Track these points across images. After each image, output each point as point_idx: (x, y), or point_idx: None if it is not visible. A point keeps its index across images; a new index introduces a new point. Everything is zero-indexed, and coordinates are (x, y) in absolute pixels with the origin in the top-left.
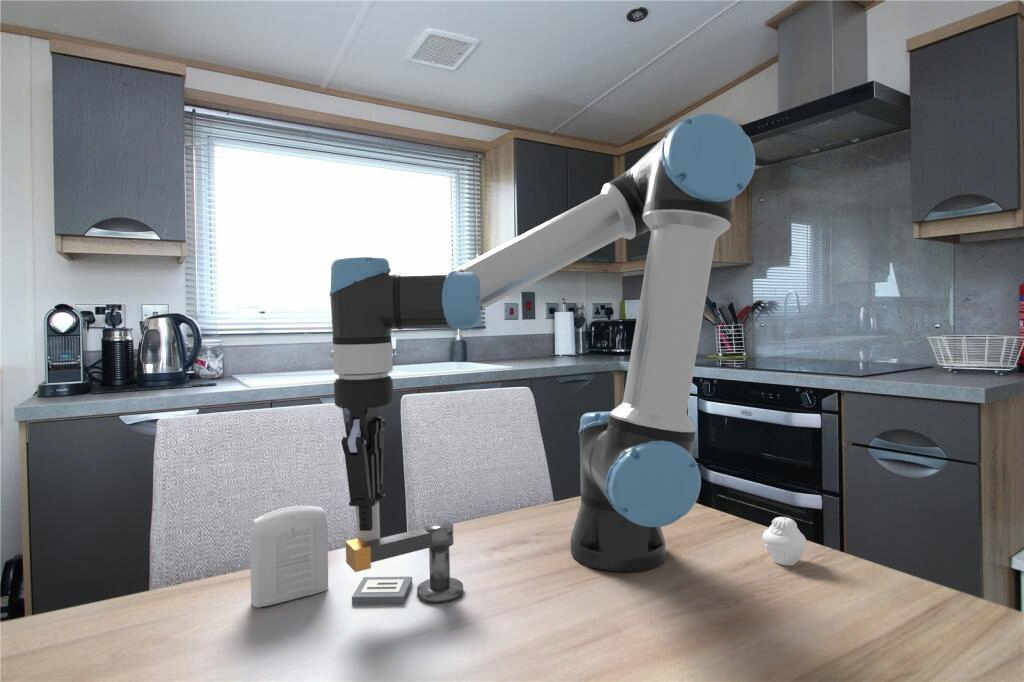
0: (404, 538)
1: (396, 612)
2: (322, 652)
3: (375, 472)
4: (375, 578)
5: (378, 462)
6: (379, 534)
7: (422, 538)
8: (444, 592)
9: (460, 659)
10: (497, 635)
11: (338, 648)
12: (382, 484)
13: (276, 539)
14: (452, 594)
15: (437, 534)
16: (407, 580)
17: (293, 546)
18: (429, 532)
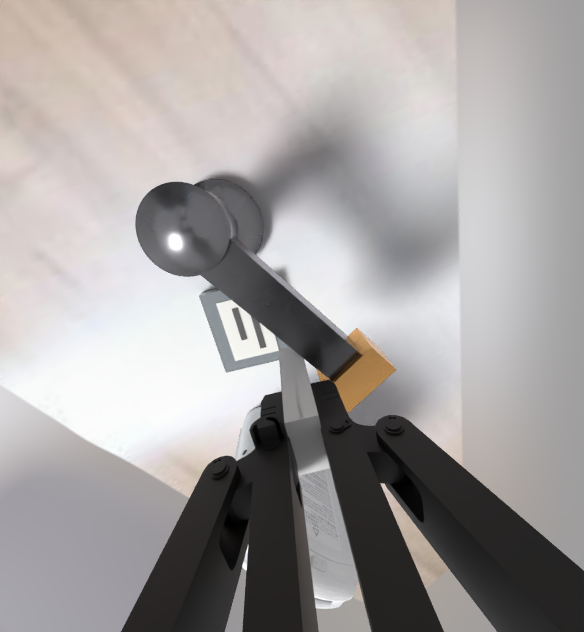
0: (287, 296)
1: (302, 274)
2: (416, 323)
3: (295, 540)
4: (224, 352)
5: (254, 601)
6: (285, 364)
7: (252, 257)
8: (237, 210)
9: (421, 108)
10: (344, 56)
11: (406, 308)
12: (211, 475)
13: (336, 531)
14: (240, 191)
15: (227, 218)
16: (216, 296)
17: (310, 497)
18: (229, 244)
